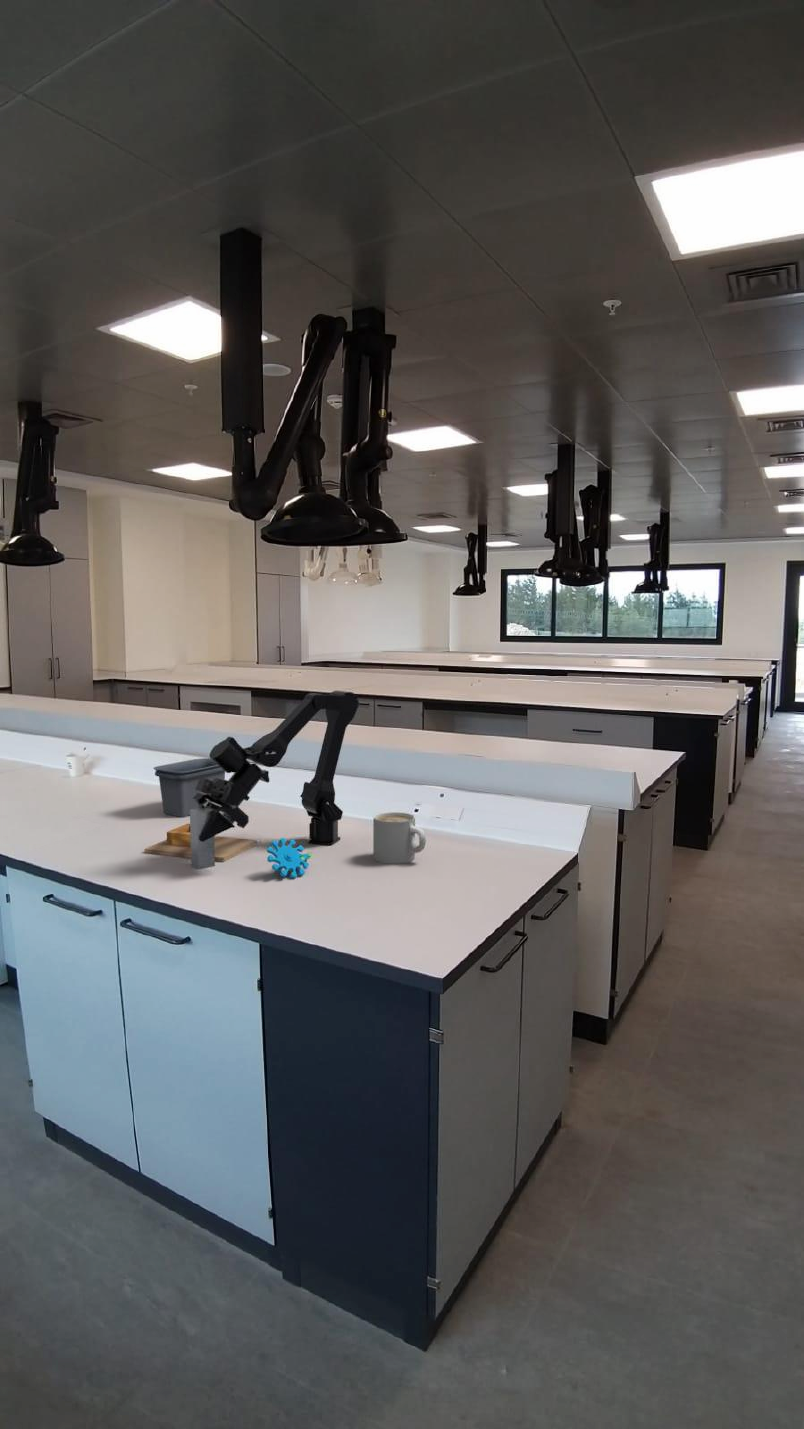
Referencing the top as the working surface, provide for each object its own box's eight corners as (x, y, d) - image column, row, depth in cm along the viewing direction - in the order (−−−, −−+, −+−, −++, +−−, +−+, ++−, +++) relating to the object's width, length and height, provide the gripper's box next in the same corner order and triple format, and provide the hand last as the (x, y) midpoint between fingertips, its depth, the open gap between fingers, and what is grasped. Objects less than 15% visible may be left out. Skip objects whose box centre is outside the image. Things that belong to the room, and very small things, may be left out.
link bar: (207, 861, 177) (206, 807, 175) (214, 866, 174) (213, 810, 172) (191, 865, 174) (189, 809, 173) (198, 869, 171) (197, 813, 170)
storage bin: (180, 821, 215) (179, 771, 213) (145, 813, 223) (143, 766, 222) (235, 807, 233) (234, 761, 231) (200, 800, 241) (199, 756, 240)
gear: (275, 876, 161) (264, 836, 167) (264, 890, 165) (253, 850, 170) (319, 874, 168) (307, 835, 174) (308, 887, 172) (296, 849, 177)
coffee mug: (364, 857, 181) (364, 816, 180) (393, 849, 188) (393, 810, 187) (405, 869, 172) (405, 826, 171) (434, 860, 179) (434, 819, 178)
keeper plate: (257, 844, 192) (257, 828, 191) (223, 861, 177) (223, 845, 176) (183, 836, 199) (182, 821, 198) (144, 852, 184) (144, 836, 183)
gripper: (200, 758, 181) (156, 810, 175) (235, 769, 167) (188, 826, 161) (230, 786, 187) (189, 837, 181) (267, 800, 172) (223, 855, 167)
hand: (196, 838), depth 172 cm, fingers closed on link bar, 4 cm apart
